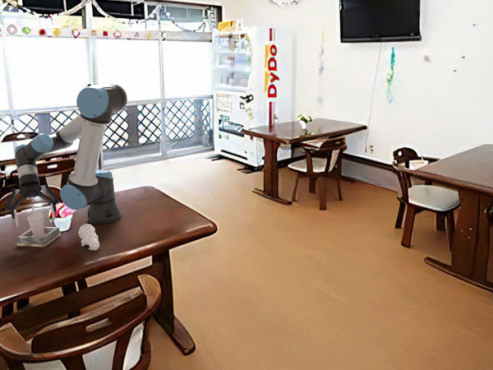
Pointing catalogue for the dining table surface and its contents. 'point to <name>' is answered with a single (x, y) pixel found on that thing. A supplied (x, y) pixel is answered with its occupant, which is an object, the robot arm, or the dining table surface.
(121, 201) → the dining table surface
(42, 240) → the pocket plate
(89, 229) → the white lumpy figurine
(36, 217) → the smoothie
